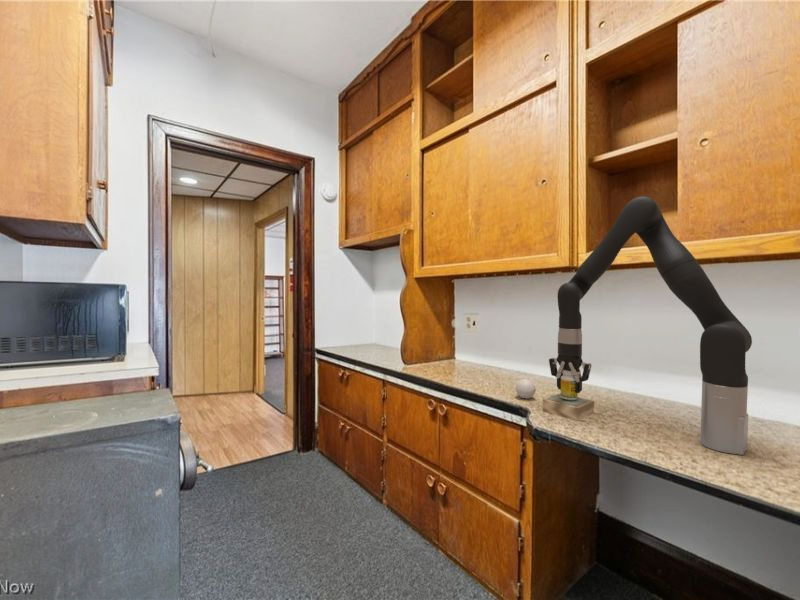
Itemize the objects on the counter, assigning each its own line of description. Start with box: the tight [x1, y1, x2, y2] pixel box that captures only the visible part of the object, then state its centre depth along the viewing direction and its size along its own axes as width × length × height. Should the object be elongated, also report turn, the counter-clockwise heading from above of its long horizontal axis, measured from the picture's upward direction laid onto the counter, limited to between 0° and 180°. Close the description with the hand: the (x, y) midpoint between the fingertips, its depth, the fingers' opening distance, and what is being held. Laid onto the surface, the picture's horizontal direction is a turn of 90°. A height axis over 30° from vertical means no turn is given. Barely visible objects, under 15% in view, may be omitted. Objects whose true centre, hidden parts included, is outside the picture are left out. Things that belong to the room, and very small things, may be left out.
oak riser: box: [542, 392, 595, 421], centre depth 129 cm, size 12×12×4 cm
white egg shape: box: [514, 378, 537, 400], centre depth 146 cm, size 10×7×7 cm
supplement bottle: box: [560, 370, 579, 400], centre depth 129 cm, size 5×5×10 cm
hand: (569, 390), depth 129 cm, fingers closed on supplement bottle, 5 cm apart
